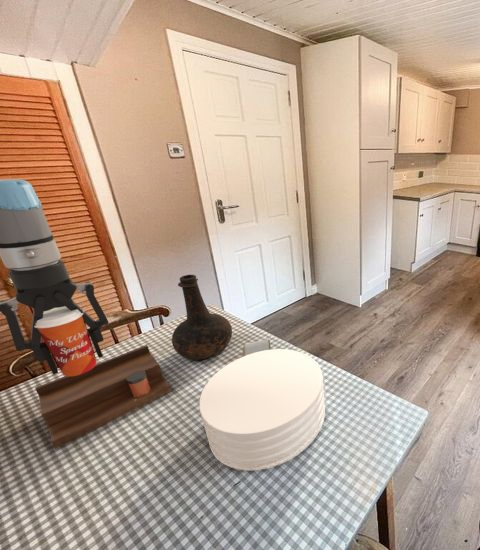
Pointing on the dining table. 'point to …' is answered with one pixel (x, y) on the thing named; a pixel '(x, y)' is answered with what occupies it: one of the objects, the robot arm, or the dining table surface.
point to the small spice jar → (138, 383)
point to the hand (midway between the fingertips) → (78, 362)
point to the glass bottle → (199, 326)
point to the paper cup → (67, 340)
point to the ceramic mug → (256, 347)
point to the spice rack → (98, 395)
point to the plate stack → (263, 408)
